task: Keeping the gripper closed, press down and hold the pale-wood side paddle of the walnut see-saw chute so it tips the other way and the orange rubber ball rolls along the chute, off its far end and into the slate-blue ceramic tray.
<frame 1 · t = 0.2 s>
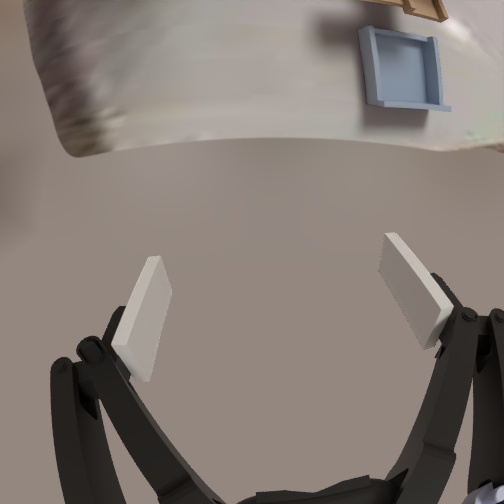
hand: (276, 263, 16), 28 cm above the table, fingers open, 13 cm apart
tray: (397, 68, 32), on the table
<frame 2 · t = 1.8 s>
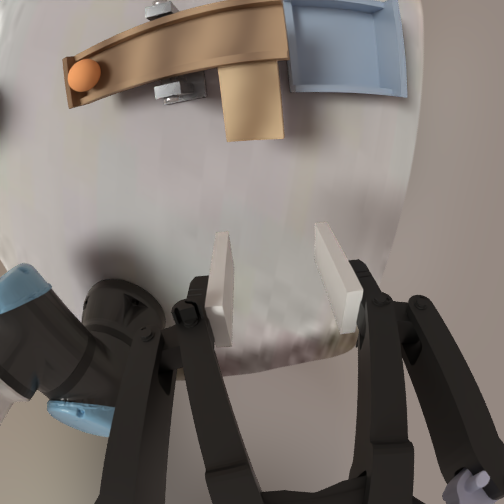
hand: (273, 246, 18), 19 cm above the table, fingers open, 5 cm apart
stand: (180, 57, 26), on the table
ball: (84, 75, 20), point 7 cm above the table, tilted 6°, touching lever
lever: (162, 82, 21), point 8 cm above the table, hinge at -14.1°, touching ball
tray: (335, 46, 25), on the table
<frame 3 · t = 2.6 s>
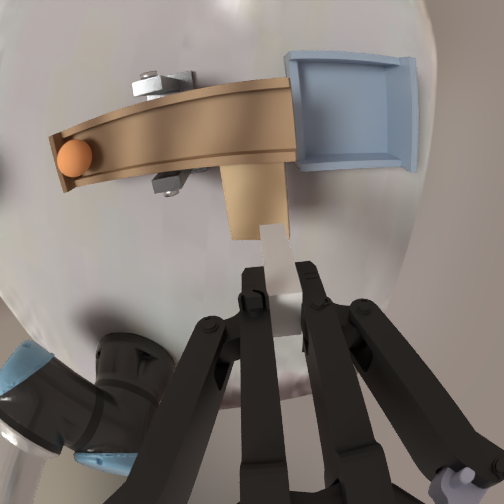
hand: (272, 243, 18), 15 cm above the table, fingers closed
stand: (176, 124, 27), on the table
ball: (74, 158, 21), point 7 cm above the table, tilted 6°, touching lever
lever: (160, 176, 22), point 8 cm above the table, hinge at -14.1°, touching ball
tray: (343, 107, 27), on the table
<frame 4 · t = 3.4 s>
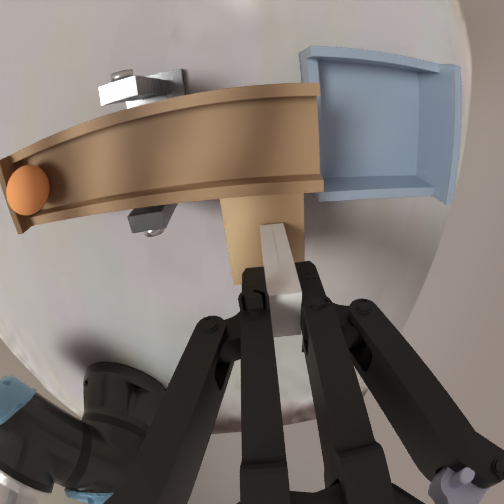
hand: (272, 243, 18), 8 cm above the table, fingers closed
stand: (162, 137, 22), on the table
ball: (27, 189, 15), point 8 cm above the table, touching lever
lever: (140, 212, 17), point 8 cm above the table, hinge at -5.3°, touching ball, gripper
tray: (369, 120, 22), on the table
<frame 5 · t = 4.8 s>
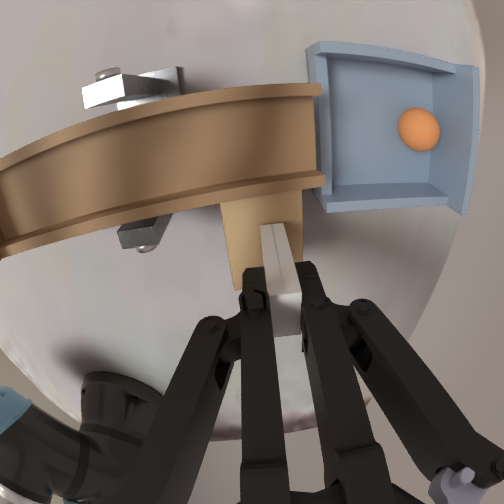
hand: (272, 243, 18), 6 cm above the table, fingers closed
stand: (156, 140, 20), on the table
ball: (419, 129, 18), point 2 cm above the table, tilted 74°, touching tray
lever: (135, 226, 15), point 8 cm above the table, hinge at 10.2°, touching gripper
tray: (380, 122, 20), on the table
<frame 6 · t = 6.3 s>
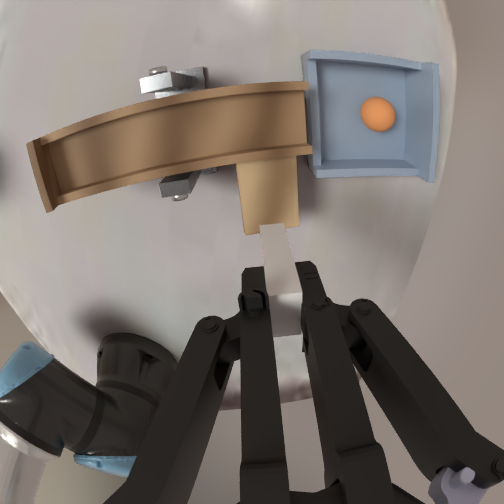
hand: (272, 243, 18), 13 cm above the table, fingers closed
stand: (185, 123, 26), on the table
ball: (377, 114, 23), point 2 cm above the table, tilted 124°, touching tray
lever: (174, 179, 21), point 8 cm above the table, hinge at 10.2°
tray: (361, 111, 25), on the table
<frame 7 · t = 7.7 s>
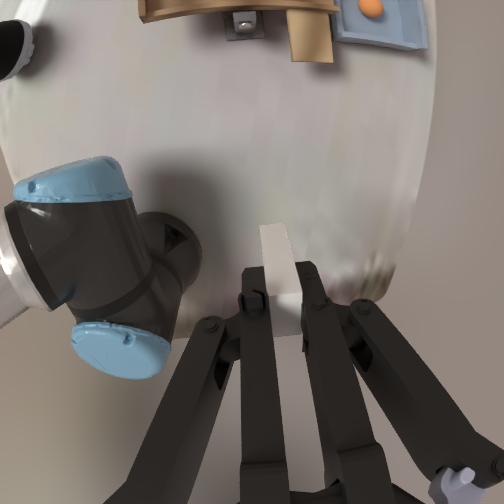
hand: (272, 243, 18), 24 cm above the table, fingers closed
stand: (241, 5, 26), on the table
toy: (26, 50, 25), on the table
ball: (370, 6, 24), point 2 cm above the table, tilted 170°, touching tray
lever: (246, 9, 21), point 8 cm above the table, hinge at 10.2°
tray: (368, 10, 26), on the table
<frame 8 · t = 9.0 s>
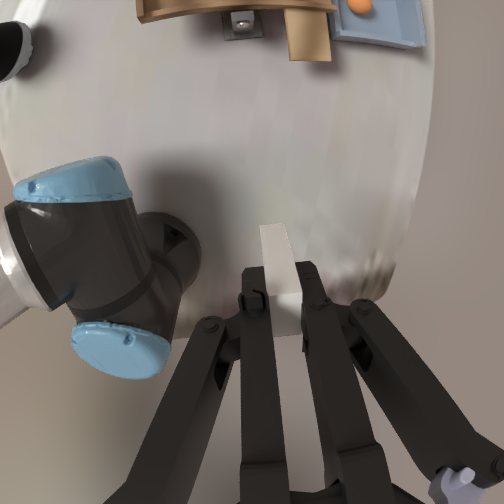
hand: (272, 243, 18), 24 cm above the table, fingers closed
stand: (239, 4, 26), on the table
toy: (25, 51, 25), on the table
ball: (359, 3, 24), point 2 cm above the table, tilted 147°, touching tray
lever: (243, 9, 21), point 8 cm above the table, hinge at 10.2°
tray: (365, 9, 26), on the table
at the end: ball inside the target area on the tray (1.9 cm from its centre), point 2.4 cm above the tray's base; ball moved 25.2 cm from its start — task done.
